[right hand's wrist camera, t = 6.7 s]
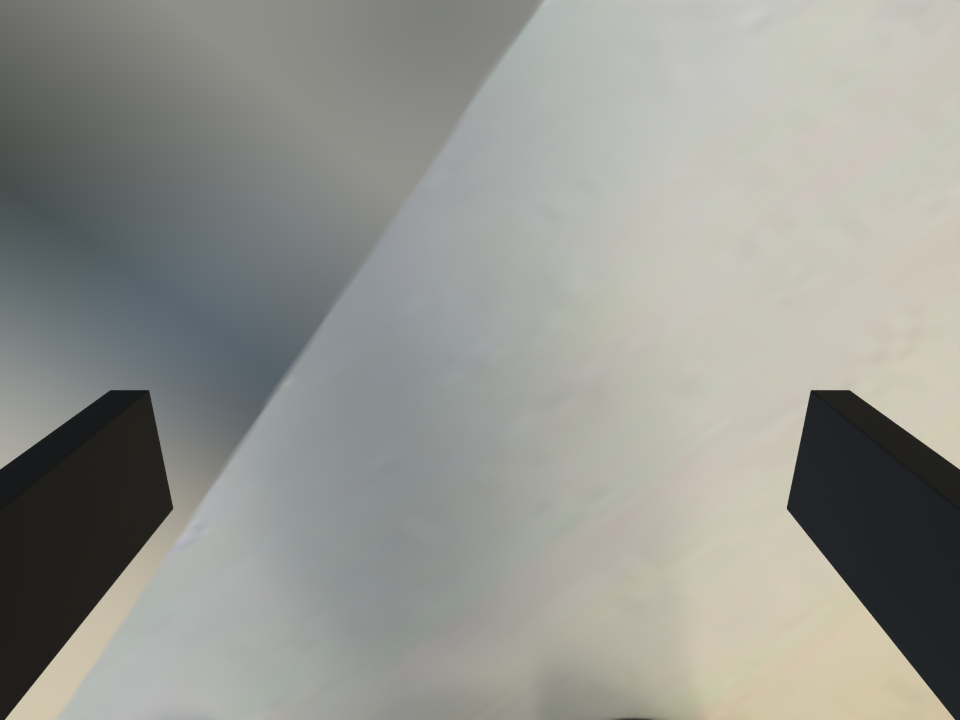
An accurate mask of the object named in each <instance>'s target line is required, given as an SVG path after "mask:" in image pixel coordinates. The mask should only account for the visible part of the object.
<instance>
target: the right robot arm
mask: <svg viewBox="0 0 960 720" xmlns="http://www.w3.org/2000/svg"><path fill="white" fill-rule="evenodd" d="M172 510H173V505H172V500H171V495H170V490H169V485H168V481H167V476H166V471H165V466H164V461H163V456H162V451H161V446H160V441H159V437H158V432H157V427H156V422H155V417H154V412H153V407H152V402H151V397H150V393H149V390H110V391H109V392H107V393H106V394H105V395H103V396H102V397H100V398H99V399H98V400H96V401H95V402H94V403H92V404H91V405H89V406H88V407H87V408H85V409H84V410H82V411H81V412H80V413H78V414H77V415H75V416H74V417H73V418H71V419H70V420H68V421H67V422H66V423H64V424H63V425H62V426H60V427H59V428H57V429H56V430H55V431H53V432H52V433H50V434H49V435H48V436H46V437H45V438H43V439H42V440H41V441H39V442H38V443H37V444H35V445H34V446H32V447H31V448H30V449H28V450H27V451H25V452H24V453H23V454H21V455H20V456H18V457H17V458H16V459H14V460H13V461H11V462H10V463H9V464H7V465H6V466H5V467H3V468H2V469H0V720H5V719H6V718H7V716H8V715H9V714H10V712H11V711H12V710H13V709H14V707H15V706H16V705H17V704H18V702H19V701H20V700H21V699H22V697H23V696H24V695H25V694H26V692H27V691H28V690H29V689H30V687H31V686H32V685H33V684H34V682H35V681H36V680H37V679H38V677H39V676H40V675H41V674H42V672H43V671H44V670H45V669H46V667H47V666H48V665H49V664H50V662H51V661H52V660H53V659H54V657H55V656H56V655H57V654H58V652H59V651H60V650H61V649H62V647H63V646H64V645H65V644H66V642H67V641H68V640H69V639H70V637H71V636H72V635H73V634H74V632H75V631H76V630H77V629H78V627H79V626H80V625H81V624H82V622H83V621H84V620H85V619H86V617H87V616H88V615H89V614H90V612H91V611H92V610H93V608H94V607H95V606H96V605H97V604H98V602H99V601H100V600H101V599H102V597H103V596H104V595H105V593H106V592H107V591H108V590H109V588H110V587H111V586H112V585H113V583H114V582H115V581H116V580H117V578H118V577H119V576H120V575H121V573H122V572H123V571H124V570H125V568H126V567H127V566H128V565H129V563H130V562H131V561H132V560H133V558H134V557H135V556H136V555H137V553H138V552H139V551H140V550H141V548H142V547H143V546H144V545H145V543H146V542H147V541H148V540H149V538H150V537H151V536H152V534H153V533H154V532H155V531H156V530H157V528H158V527H159V526H160V524H161V523H162V522H163V521H164V520H165V518H166V517H167V516H168V515H169V513H170V512H171V511H172ZM787 510H788V511H789V512H790V513H791V515H792V516H793V517H794V518H795V520H796V521H797V522H798V523H799V525H800V526H801V527H802V528H803V530H804V531H805V532H806V533H807V535H808V536H809V537H810V538H811V540H812V541H813V542H814V543H815V545H816V546H817V547H818V548H819V550H820V551H821V552H822V553H823V555H824V556H825V557H826V558H827V560H828V561H829V562H830V563H831V565H832V566H833V567H834V568H835V570H836V571H837V572H838V573H839V575H840V576H841V577H842V578H843V580H844V581H845V582H846V583H847V585H848V586H849V587H850V589H851V590H852V591H853V592H854V594H855V595H856V596H857V597H858V599H859V600H860V601H861V602H862V604H863V605H864V606H865V607H866V609H867V610H868V611H869V612H870V614H871V615H872V616H873V617H874V619H875V620H876V621H877V622H878V624H879V625H880V626H881V627H882V629H883V630H884V631H885V632H886V634H887V635H888V636H889V637H890V639H891V640H892V641H893V642H894V644H895V645H896V646H897V647H898V649H899V650H900V651H901V652H902V654H903V655H904V656H905V657H906V659H907V660H908V661H909V662H910V664H911V665H912V666H913V667H914V669H915V670H916V671H917V672H918V674H919V675H920V676H921V677H922V679H923V680H924V681H925V682H926V684H927V685H928V686H929V687H930V689H931V690H932V691H933V692H934V694H935V695H936V696H937V697H938V699H939V700H940V701H941V702H942V704H943V705H944V706H945V708H946V709H947V710H948V711H949V713H950V714H951V715H952V716H953V718H954V719H955V720H960V469H958V468H957V467H955V466H954V465H953V464H951V463H950V462H949V461H947V460H946V459H944V458H943V457H942V456H940V455H939V454H937V453H936V452H935V451H933V450H932V449H930V448H929V447H928V446H926V445H925V444H923V443H922V442H921V441H919V440H918V439H917V438H915V437H914V436H912V435H911V434H910V433H908V432H907V431H905V430H904V429H903V428H901V427H900V426H898V425H897V424H896V423H894V422H893V421H892V420H890V419H889V418H887V417H886V416H885V415H883V414H882V413H880V412H879V411H878V410H876V409H875V408H873V407H872V406H871V405H869V404H868V403H867V402H865V401H864V400H862V399H861V398H860V397H858V396H857V395H855V394H854V393H853V392H851V391H850V390H811V393H810V397H809V402H808V407H807V412H806V417H805V422H804V427H803V432H802V437H801V441H800V446H799V451H798V456H797V461H796V466H795V471H794V476H793V481H792V485H791V490H790V495H789V500H788V505H787Z"/></svg>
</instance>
